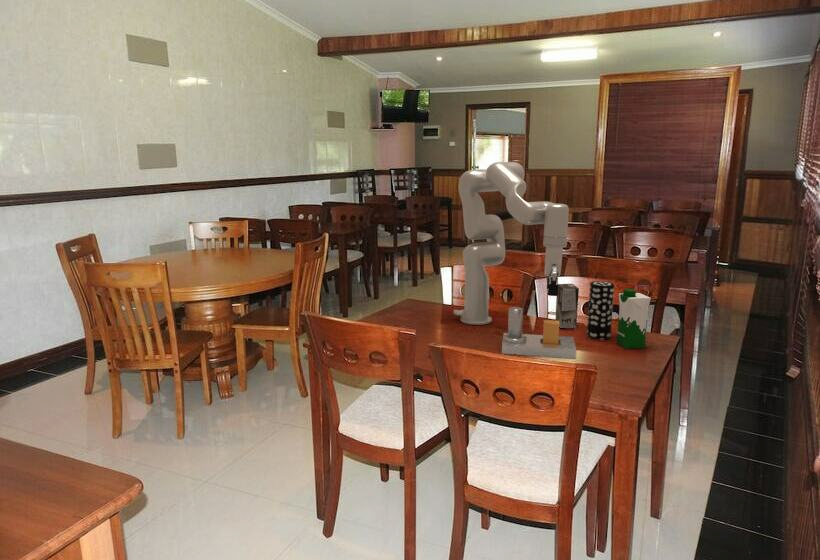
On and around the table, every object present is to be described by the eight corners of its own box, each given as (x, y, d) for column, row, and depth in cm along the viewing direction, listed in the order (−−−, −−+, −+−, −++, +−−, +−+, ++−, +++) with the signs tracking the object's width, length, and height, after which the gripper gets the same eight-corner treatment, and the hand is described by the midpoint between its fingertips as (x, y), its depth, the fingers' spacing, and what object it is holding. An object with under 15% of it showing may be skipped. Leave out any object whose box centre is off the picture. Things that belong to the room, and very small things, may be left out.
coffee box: (576, 329, 219) (579, 288, 216) (560, 329, 219) (562, 288, 216) (570, 322, 228) (573, 283, 225) (554, 322, 228) (556, 283, 225)
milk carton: (612, 342, 204) (616, 287, 200) (636, 340, 205) (640, 286, 201) (625, 349, 195) (629, 293, 191) (649, 348, 197) (654, 292, 193)
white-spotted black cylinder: (584, 333, 214) (587, 281, 210) (606, 333, 214) (610, 281, 210) (590, 340, 206) (593, 286, 202) (613, 340, 206) (617, 286, 202)
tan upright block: (542, 351, 194) (544, 323, 192) (542, 347, 198) (543, 320, 196) (557, 352, 193) (559, 324, 191) (557, 348, 197) (558, 320, 195)
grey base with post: (501, 353, 192) (503, 313, 189) (503, 340, 205) (504, 303, 202) (575, 358, 187) (578, 317, 184) (572, 345, 200) (575, 306, 198)
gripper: (542, 237, 197) (540, 286, 201) (543, 245, 180) (541, 297, 184) (565, 238, 195) (562, 287, 199) (568, 245, 179) (565, 298, 183)
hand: (552, 292), depth 192 cm, fingers open, 9 cm apart
